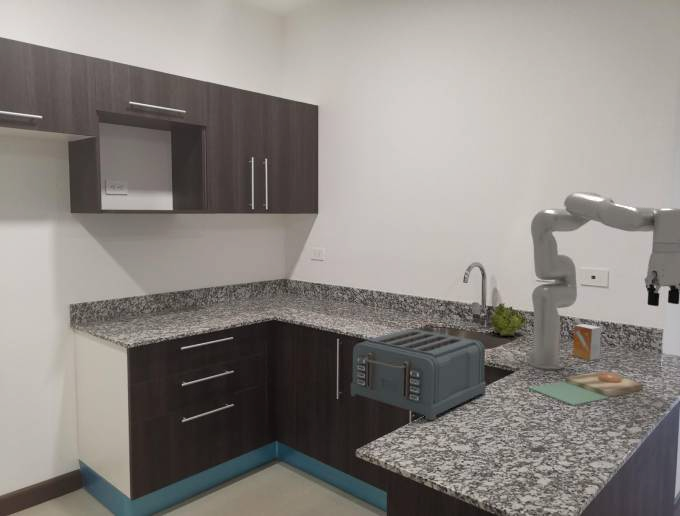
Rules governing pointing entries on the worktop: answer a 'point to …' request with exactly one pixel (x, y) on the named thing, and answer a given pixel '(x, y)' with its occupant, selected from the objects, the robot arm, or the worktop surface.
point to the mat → (568, 393)
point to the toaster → (419, 370)
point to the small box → (587, 341)
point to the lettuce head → (507, 320)
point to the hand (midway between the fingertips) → (663, 304)
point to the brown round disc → (609, 377)
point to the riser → (604, 384)
